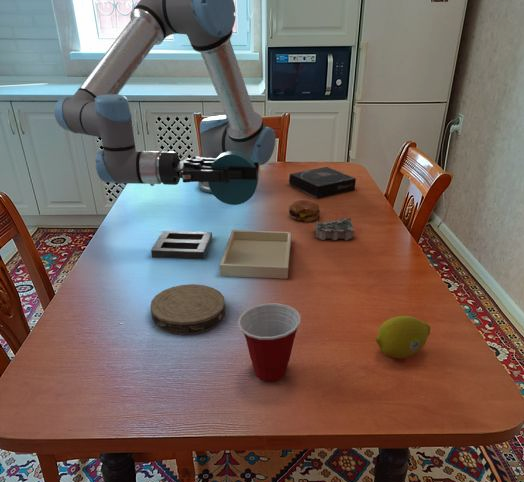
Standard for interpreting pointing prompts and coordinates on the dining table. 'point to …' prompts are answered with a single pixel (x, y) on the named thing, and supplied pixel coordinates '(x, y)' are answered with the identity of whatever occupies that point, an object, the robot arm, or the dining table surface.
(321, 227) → the egg carton
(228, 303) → the dining table surface
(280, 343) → the plastic cup
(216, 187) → the disc
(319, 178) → the black box
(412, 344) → the lemon
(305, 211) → the burger
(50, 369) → the dining table surface
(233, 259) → the tray
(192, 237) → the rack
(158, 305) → the wood log slice
